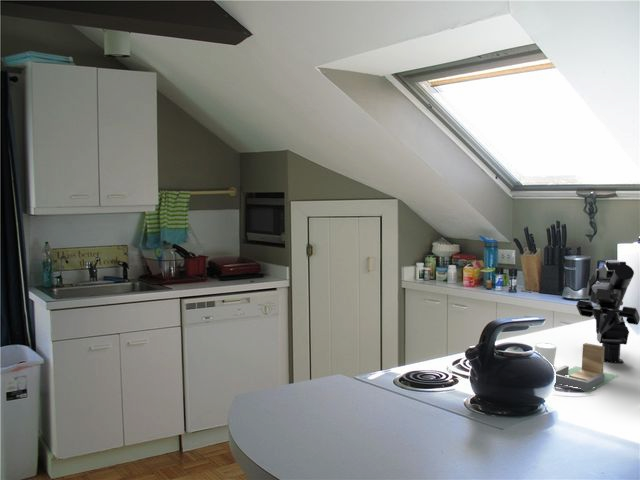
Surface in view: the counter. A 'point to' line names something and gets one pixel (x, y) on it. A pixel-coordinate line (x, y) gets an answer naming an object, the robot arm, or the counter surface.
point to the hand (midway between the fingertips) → (598, 333)
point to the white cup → (546, 351)
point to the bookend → (590, 362)
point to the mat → (607, 378)
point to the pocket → (577, 382)
